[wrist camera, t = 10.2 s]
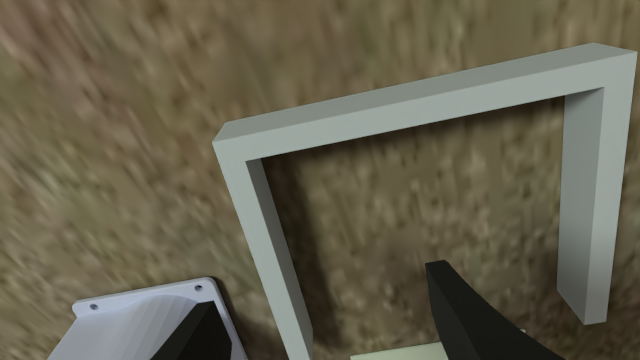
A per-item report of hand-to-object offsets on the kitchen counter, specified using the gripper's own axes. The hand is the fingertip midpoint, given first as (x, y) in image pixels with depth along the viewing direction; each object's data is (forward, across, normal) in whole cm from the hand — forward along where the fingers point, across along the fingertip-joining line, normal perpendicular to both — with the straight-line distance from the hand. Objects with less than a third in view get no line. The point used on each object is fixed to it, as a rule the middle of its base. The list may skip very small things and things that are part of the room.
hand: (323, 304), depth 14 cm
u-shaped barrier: (+10, -5, +4) cm, 12 cm away
